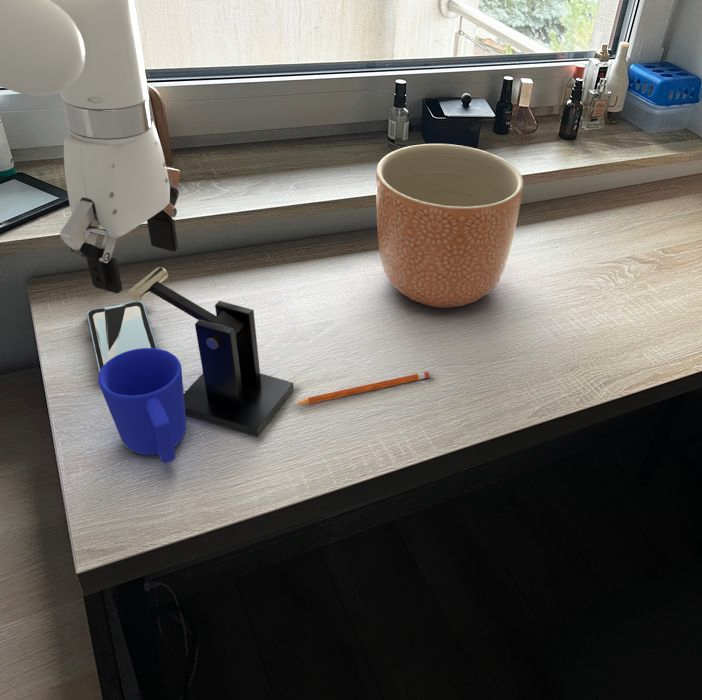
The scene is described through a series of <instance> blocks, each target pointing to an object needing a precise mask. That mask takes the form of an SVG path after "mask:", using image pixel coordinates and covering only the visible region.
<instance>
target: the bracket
mask: <svg viewBox="0 0 702 700" xmlns="http://www.w3.org/2000/svg"><path fill="white" fill-rule="evenodd" d="M214 309H215V316H217V317H218V316H219V315H220V314H221V313H222V312H223V311H224V312H226V313H227V314H229V315H231V316H232V317H234V318H236V319H237V320H239V321H241V322H242V323H244V326H243V329H242V332H241V335H240V337H239V338H238V339H237V340H236V334H235V329H233V328H229V327H226V326H222V325H218V324H215V323H211V322H207V321H204V320H197V321H196V322H195V323H194V327H195V328H194V329H195V333H196V340H197V345H198V351H199V358H200V363H201V370H202V374H201V375H200V376H199V377H198V378H197V379H196V380H195V381H194V382H193V383H192V384H191V385H190V386H189V388H187V389H186V390H185V391H184V404H185V416H188V417H191V418H195V419H198V420H202V421H204V422H207V423H211V424H214V425H217V426H221V427H224V428H227V429H231V430H234V431H238V432H241V433H244V434H248V435H251V436H254V437H259V436H260V435H261V433H262V432H263V430H264V429H265V428H266V427H267V425H268V424H269V422H271V420H272V419H273V417H274V416H275V415H276V413H277V412H278V411H279V410H280V408H281V407H282V406H283V404H285V401H287V399H288V398H289V396H290V395H291V394H292V393H293V391H294V390H295V389H294V382H292V381H289V380H285V379H281V378H278V377H274V376H271V375H268V374H264V373H261V368H260V359H259V351H258V350H259V349H258V340H257V330H256V322H255V312H254V309H252V308H249V307H244V306H241V305H237V304H233V303H230V302H226V301H222V300H218V301H217V302H216V303H215V305H214Z"/></svg>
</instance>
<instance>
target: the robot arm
mask: <svg viewBox="0 0 702 700" xmlns="http://www.w3.org/2000/svg"><path fill="white" fill-rule="evenodd" d="M0 88H3V89H6V90H8V91H12V92H14V93H18V94H21V95H24V96H32V97H49V96H53V95H57V94H60V97H61V103H62V108H63V111H64V116H65V121H66V124H67V128H68V134H67V135H65V136H64V138H63V163H64V165H63V166H64V176H65V185H66V191H67V197H68V203H69V209H70V212H71V213H70V214H71V215H70V217H69V218H68V220H67V221H66V222H65V225H64V226H63V228H61V230H60V232H59V237H60V239H61V240H62V241H63V242H64V243H65V244H66V245H67V247H69V249H70V251H71V252H73V253H75V254H77V255H79V256H80V257H82V258H85V259H86V262H87V266H88V270H89V275H90V279H91V283H92V285H93V287H95V288H96V289H100V290H104V291H106V292H110V293H114V294H120V293H121V292H122V291H123V283H122V279H121V273H120V268H119V265H118V261H117V258H115V257H112V255H113V253H114V249H115V246H116V243H117V239H118V238H121V237H123V236H124V235H126V234H128V233H129V232H131V231H133V230H134V229H136V228H137V227H139V226H141V225H142V224H144V223H145V222H147V223H146V224H147V228H148V229H147V230H148V234H149V240H150V245H151V247H154V248H158V249H162V250H166V251H170V252H176V251H177V250H179V243H178V237H177V230H176V229H177V228H176V223H175V219H174V218H175V217H176V216H177V214H178V209H177V207H176V204H177V201H178V198H179V196H180V191H179V189H178V188H179V185H180V178H181V170H180V169H176V168H172V167H169V166H167V165H166V160H165V155H164V152H163V151H164V150H163V147H162V143H161V140H160V137H159V135H158V131H157V128H156V125H155V122H154V120H153V117H152V111H151V104H150V99H149V97H150V96H149V91H148V85H147V77H146V71H145V63H144V57H143V51H142V45H141V38H140V33H139V24H138V19H137V11H136V7H135V0H0ZM100 226H101V227H102V228H100ZM98 236H101V237H103V239H102V243H101V246H100V247H98V246H96V241H97V239H98Z"/></svg>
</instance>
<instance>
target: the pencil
mask: <svg viewBox="0 0 702 700" xmlns="http://www.w3.org/2000/svg"><path fill="white" fill-rule="evenodd" d="M428 378H430V373H429V371H424V372H419V373H415V374H411V375H407V376H402V377H397V378H393V379H389V380H388V379H387V380H384V381H378V382H374V383H370V384H365V385H359V386H355V387H351V388H346V389H342V390H337V391H333V392H328V393H323V394H319V395H315V396H310V397H309V396H308V397H306V398H304V399H301V400H299V401H297V402H295V403H294V405H310V404H311V405H312V404H316V403H319V402H324V401H329V400H334V399H338V398H341V397H347V396H350V395H351V396H352V395H356V394H361V393H365V392H371V391H374V390H378V389H383V388H387V387H392V386H396V385H401V384H405V383H409V382H410V383H411V382H416V381H418V380H419V381H420V380H423V379H428Z"/></svg>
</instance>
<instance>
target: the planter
mask: <svg viewBox="0 0 702 700" xmlns="http://www.w3.org/2000/svg"><path fill="white" fill-rule="evenodd" d="M375 175H376V176H375V200H376V201H375V203H376V205H375V206H376V228H377V241H378V251H379V256H380V257H379V258H380V262H381V266H382V269H383V272H384V274H385V276H386V278H387V280H388V281H389V283H390V284H391V285H392V286H393V287H394V288H395V289H396V290H397V291H398V292H399V293H401V294H402V295H403V296H404V297H406V298H408V299H410V300H412V301H413V302H416V303H419V304H421V305H425V306H429V307H432V308H433V307H434V308H459V307H463V306H466V305H470V304H472V303H474V302H476V301H478V300H480V299H482V298H484V297H485V296H487V295H488V294H489V293H490V292H491V291H493V289H494V288H495V287H496V285H497V284H498V283H499V281H500V280H501V277H502V276H503V273H504V271H505V267H506V265H507V263H508V259H509V255H510V252H511V249H512V244H513V240H514V236H515V232H516V228H517V222H518V218H519V213H520V209H521V204H522V198H523V191H524V183H525V182H524V178H523V176H522V173H521V172H520V171H519V170H518V168H517V167H515V166H514V165H513V164H512V163H511V162H509V161H508V160H506V159H504V158H502V157H501V156H498V155H496V154H493V153H492V152H488V151H486V150H482V149H479V148H474V147H471V146H466V145H465V146H464V145H457V144H450V143H423V144H416V145H409V146H406V147H401V148H399V149H396V150H393V151H391V152H390V153H387V154H386V155H384V156H383V158H381V160H379V162H378V164H377V166H376V173H375Z"/></svg>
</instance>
